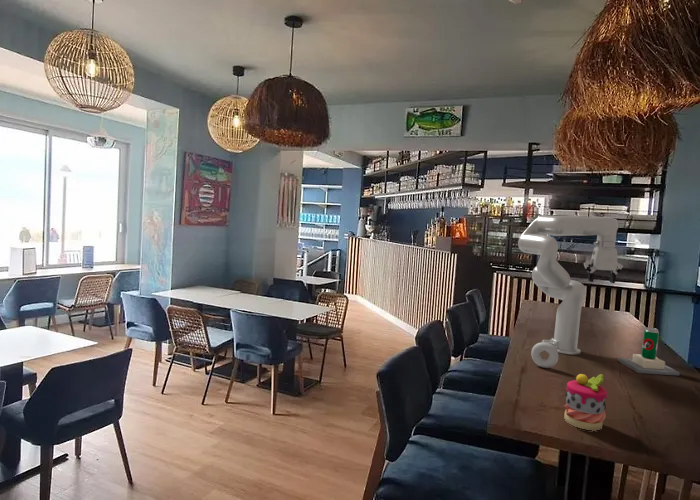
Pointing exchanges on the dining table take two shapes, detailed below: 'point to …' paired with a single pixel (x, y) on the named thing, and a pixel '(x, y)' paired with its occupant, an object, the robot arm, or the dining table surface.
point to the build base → (647, 370)
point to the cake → (585, 402)
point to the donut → (548, 348)
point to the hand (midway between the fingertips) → (601, 282)
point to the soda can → (650, 343)
